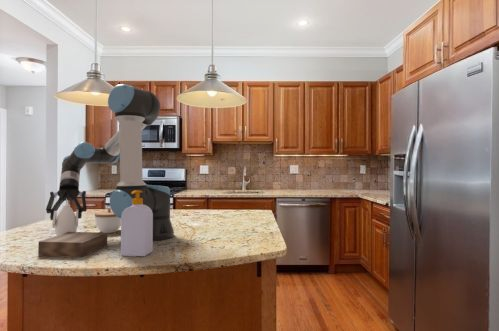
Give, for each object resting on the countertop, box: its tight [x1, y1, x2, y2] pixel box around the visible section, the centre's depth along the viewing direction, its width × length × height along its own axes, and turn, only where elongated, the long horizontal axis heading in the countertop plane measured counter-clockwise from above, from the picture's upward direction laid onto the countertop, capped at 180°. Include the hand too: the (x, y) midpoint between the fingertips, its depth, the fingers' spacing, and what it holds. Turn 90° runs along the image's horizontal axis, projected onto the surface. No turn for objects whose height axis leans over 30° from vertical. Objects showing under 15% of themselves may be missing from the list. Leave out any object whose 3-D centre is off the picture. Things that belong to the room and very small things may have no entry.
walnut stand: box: [37, 231, 108, 258], centre depth 112 cm, size 16×16×5 cm
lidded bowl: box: [94, 208, 121, 234], centre depth 145 cm, size 13×13×11 cm
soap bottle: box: [120, 190, 154, 257], centre depth 108 cm, size 9×7×23 cm
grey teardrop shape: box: [54, 199, 78, 236], centre depth 125 cm, size 8×8×18 cm
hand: (65, 224), depth 122 cm, fingers closed on grey teardrop shape, 7 cm apart
